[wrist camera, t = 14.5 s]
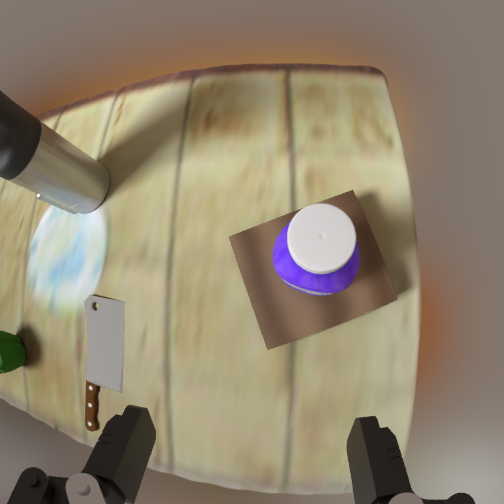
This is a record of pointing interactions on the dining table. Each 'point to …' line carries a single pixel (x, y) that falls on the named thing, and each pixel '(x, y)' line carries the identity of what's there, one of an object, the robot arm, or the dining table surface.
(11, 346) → the bell pepper
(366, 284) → the walnut stand
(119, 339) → the kitchen cleaver
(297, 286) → the bottle
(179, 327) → the dining table surface
